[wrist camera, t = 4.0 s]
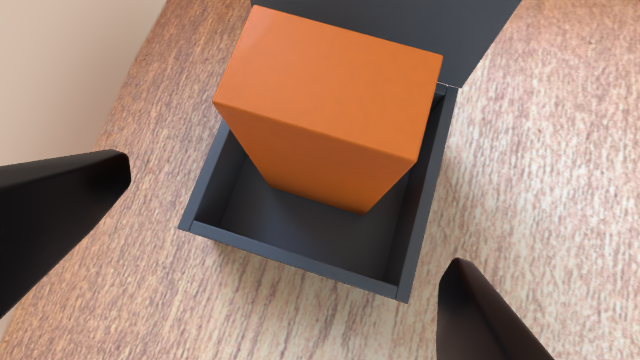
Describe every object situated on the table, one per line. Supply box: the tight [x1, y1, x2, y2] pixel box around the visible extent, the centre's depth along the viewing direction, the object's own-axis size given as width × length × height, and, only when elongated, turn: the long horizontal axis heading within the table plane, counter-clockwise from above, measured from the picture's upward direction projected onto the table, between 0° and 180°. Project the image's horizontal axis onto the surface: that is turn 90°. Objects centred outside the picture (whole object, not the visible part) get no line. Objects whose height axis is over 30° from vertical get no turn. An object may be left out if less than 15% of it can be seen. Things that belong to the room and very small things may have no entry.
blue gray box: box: [178, 83, 458, 304], centre depth 18 cm, size 11×11×5 cm
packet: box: [212, 5, 443, 216], centre depth 15 cm, size 4×6×11 cm, turn 72°
